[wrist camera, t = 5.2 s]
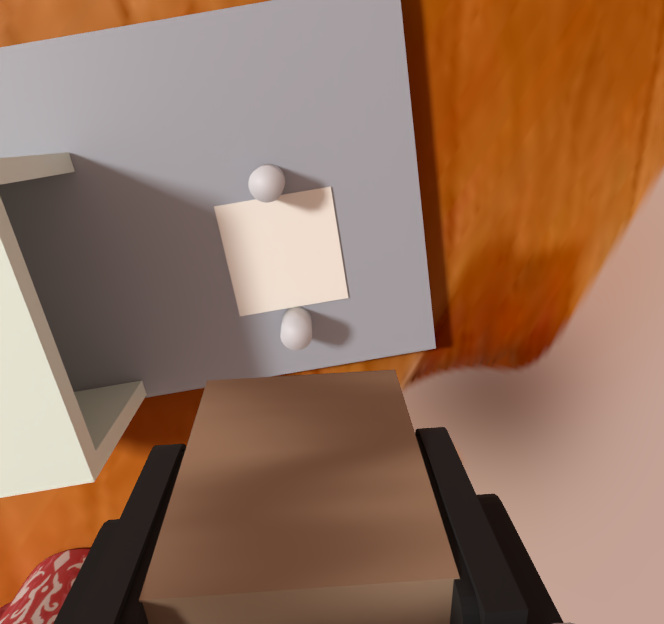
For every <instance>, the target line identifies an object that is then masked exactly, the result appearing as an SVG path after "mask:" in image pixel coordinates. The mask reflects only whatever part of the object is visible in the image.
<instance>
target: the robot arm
mask: <svg viewBox="0 0 664 624" xmlns="http://www.w3.org/2000/svg"><path fill="white" fill-rule="evenodd" d="M415 436H416V439H417V442H418V445H419V448H420V452H421V455H422V458H423V461H424V464H425V468H426V471H427V474H428V477H429V480H430V484H431V487H432V490H433V493H434V496H435V500H436V503H437V506H438V509H439V513H440V516H441V519H442V522H443V525H444V529H445V532H446V535H447V538H448V541H449V545H450V548H451V551H452V554H453V557H454V561H455V564H456V567H457V570H458V573H459V577H460V579H454V583H453V593H452V604H451V615H450V624H573V623H563V621H562V619H561V617H560V615H559V613H558V611H557V609H556V607H555V605H554V603H553V602H552V599H551V597H550V596H549V594H548V592H547V590H546V588H545V586H544V584H543V582H542V580H541V578H540V576H539V574H538V572H537V570H536V568H535V566H534V564H533V562H532V560H531V558H530V556H529V554H528V553H527V551H526V549H525V547H524V545H523V543H522V541H521V539H520V537H519V535H518V533H517V531H516V529H515V527H514V525H513V523H512V521H511V519H510V517H509V515H508V513H507V511H506V510H505V508H504V506H503V504H502V502H501V500H500V499H499V497H498V496H497V495H495V494H483V495H476V493H475V491H474V489H473V487H472V484H471V482H470V480H469V478H468V476H467V474H466V471H465V469H464V467H463V465H462V462H461V460H460V458H459V456H458V454H457V451H456V449H455V447H454V445H453V443H452V440H451V438H450V436H449V434H448V432H447V430H446V428H444V427H438V428H422V429H417V430H416V432H415ZM185 450H186V445H185V444H172V445H156V446H154V447H153V448H152V450H151V452H150V454H149V457H148V459H147V461H146V463H145V465H144V467H143V470H142V472H141V474H140V476H139V478H138V480H137V482H136V485H135V487H134V489H133V491H132V493H131V495H130V498H129V500H128V502H127V504H126V506H125V508H124V511H123V513H122V515H121V517H120V519H116V520H108V521H107V522H105V523H104V524H103V526H102V527H101V529H100V531H99V533H98V535H97V537H96V539H95V541H94V543H93V545H92V547H91V549H90V551H89V553H88V555H87V557H86V559H85V561H84V563H83V565H82V567H81V569H80V571H79V573H78V575H77V577H76V579H75V581H74V583H73V585H72V587H71V589H70V591H69V593H68V595H67V597H66V599H65V601H64V603H63V605H62V607H61V609H60V611H59V613H58V615H57V617H56V619H55V621H54V623H53V624H148V620H147V617H146V613H145V610H144V606H143V603H142V602H139V598H140V595H141V592H142V588H143V585H144V582H145V579H146V575H147V572H148V569H149V566H150V563H151V559H152V556H153V553H154V550H155V547H156V543H157V540H158V537H159V534H160V530H161V527H162V524H163V521H164V518H165V514H166V511H167V508H168V505H169V502H170V498H171V495H172V492H173V489H174V485H175V482H176V479H177V476H178V473H179V469H180V466H181V463H182V460H183V456H184V453H185Z"/></svg>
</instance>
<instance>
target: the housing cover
mask: <svg viewBox="0 0 664 624" xmlns="http://www.w3.org/2000/svg"><path fill="white" fill-rule="evenodd" d="M71 172H75V170H74V167H73V164H72V161H71V158H70V155H69V152H66V153H54V154H42V155H31V156H19V157H7V158H0V185H1V184H7V183H13V182H19V181H24V180H30V179H36V178H42V177H48V176H53V175H59V174H65V173H71ZM145 396H146V391H145V388H144V385H143V382H142V380H141V381H135V382H130V383H124V384H118V385H112V386H106V387H100V388H94V389H88V390H82V391H77V392H73V389H72V386H71V384H70V381H69V378H68V376H67V373H66V370H65V368H64V365H63V362H62V360H61V357H60V354H59V352H58V349H57V346H56V344H55V341H54V338H53V336H52V333H51V330H50V328H49V325H48V322H47V320H46V317H45V314H44V312H43V309H42V306H41V304H40V301H39V298H38V296H37V293H36V290H35V288H34V285H33V282H32V280H31V277H30V274H29V272H28V269H27V266H26V264H25V261H24V258H23V256H22V253H21V250H20V248H19V245H18V242H17V240H16V237H15V234H14V232H13V229H12V226H11V224H10V221H9V218H8V216H7V213H6V210H5V208H4V205H3V202H2V200H1V197H0V498H2V497H8V496H14V495H20V494H26V493H32V492H38V491H43V490H49V489H55V488H61V487H67V486H73V485H79V484H85V483H91V482H95V480H96V478H97V477H98V475H99V473H100V472H101V470H102V468H103V467H104V465H105V463H106V462H107V460H108V458H109V457H110V455H111V453H112V452H113V450H114V448H115V447H116V445H117V443H118V442H119V440H120V438H121V437H122V435H123V433H124V432H125V430H126V428H127V427H128V425H129V423H130V422H131V420H132V418H133V417H134V415H135V413H136V411H137V410H138V408H139V406H140V405H141V403H142V401H143V400H144V398H145Z"/></svg>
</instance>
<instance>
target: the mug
mask: <svg viewBox="0 0 664 624" xmlns="http://www.w3.org/2000/svg"><path fill="white" fill-rule="evenodd" d="M89 551H90V549H74V550H68V551H64V552H60V553H57V554H54V555H52V556H50V557H48V558H47V559H46V560H44V561H43V562H41V563H40V564H39V565H38V566H36V568H35V569H34V570H33V571H32V572H31V574H30V575H29V576H28V578H27V579H26V581H25V582H24V583H23V585H22V587H21V588H20V590H19V591H18V593H17V594H16V596H15V598H14V599H13V601H12V602H10V603H8V604H6V605H4V606H3V607H1V608H0V624H53V623H54V621H55V619H56V617H57V615H58V613H59V611H60V609H61V607H62V605H63V603H64V601H65V599H66V597H67V595H68V593H69V591H70V589H71V587H72V585H73V583H74V581H75V579H76V577H77V575H78V573H79V571H80V569H81V567H82V565H83V563H84V561H85V559H86V557H87V555H88V553H89Z"/></svg>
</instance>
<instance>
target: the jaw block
mask: <svg viewBox="0 0 664 624" xmlns="http://www.w3.org/2000/svg"><path fill="white" fill-rule="evenodd" d="M454 579H460V577H459V573H458V570H457V567H456V564H455V561H454V557H453V554H452V551H451V548H450V545H449V541H448V538H447V535H446V532H445V529H444V525H443V522H442V519H441V516H440V513H439V509H438V506H437V503H436V500H435V496H434V493H433V490H432V487H431V484H430V480H429V477H428V474H427V471H426V468H425V464H424V461H423V458H422V455H421V452H420V448H419V445H418V442H417V439H416V436H415V432H414V429H413V426H412V423H411V420H410V416H409V413H408V410H407V407H406V404H405V400H404V397H403V394H402V391H401V387H400V384H399V381H398V378H397V375H396V371H395V370H382V371H365V372H347V373H329V374H312V375H294V376H276V377H259V378H241V379H223V380H207V383H206V386H205V389H204V392H203V395H202V399H201V402H200V405H199V408H198V411H197V415H196V418H195V421H194V424H193V428H192V431H191V434H190V437H189V440H188V444H187V447H186V450H185V453H184V456H183V460H182V463H181V466H180V469H179V473H178V476H177V479H176V482H175V485H174V489H173V492H172V495H171V498H170V502H169V505H168V508H167V511H166V514H165V518H164V521H163V524H162V527H161V530H160V534H159V537H158V540H157V543H156V547H155V550H154V553H153V556H152V559H151V563H150V566H149V569H148V572H147V575H146V579H145V582H144V585H143V588H142V592H141V595H140V598H139V602H142V603H143V606H144V610H145V613H146V617H147V620H148V624H450V615H451V604H452V593H453V583H454Z"/></svg>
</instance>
